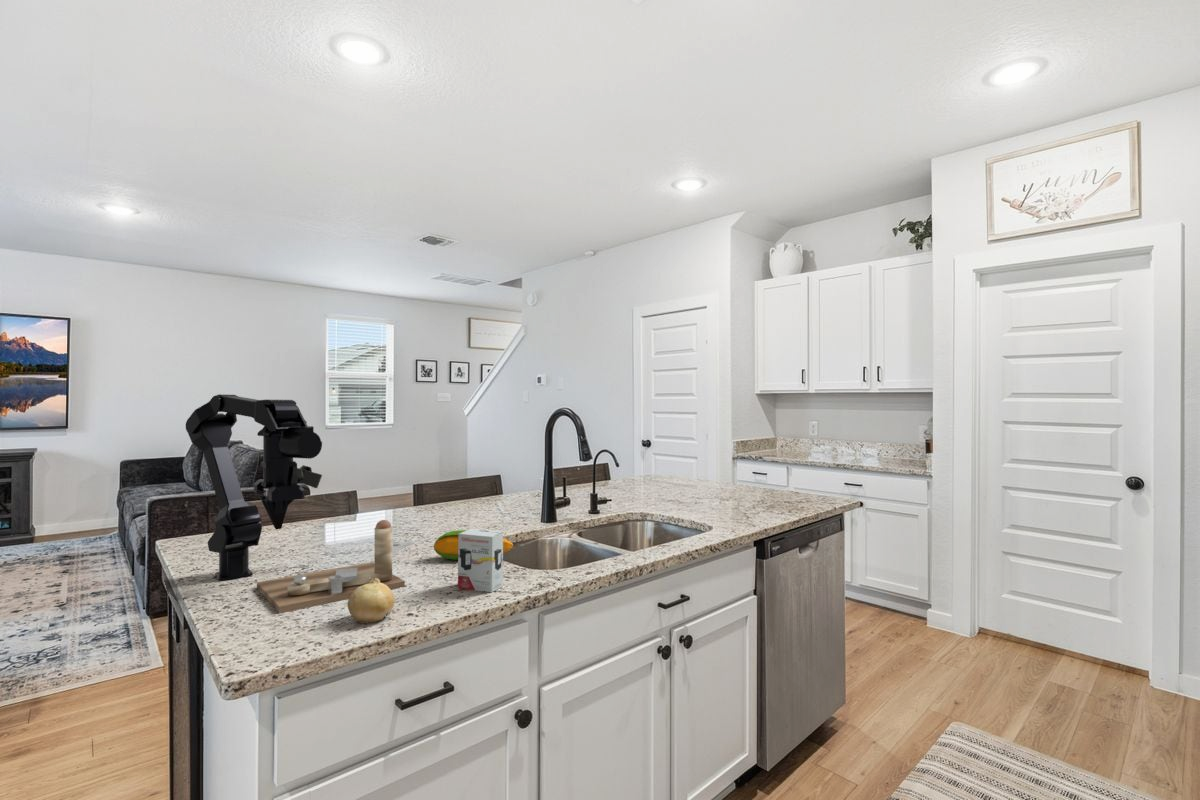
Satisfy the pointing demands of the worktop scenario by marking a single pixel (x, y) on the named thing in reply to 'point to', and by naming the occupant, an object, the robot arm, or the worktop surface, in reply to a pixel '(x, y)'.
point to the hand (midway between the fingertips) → (278, 528)
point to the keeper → (335, 579)
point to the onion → (371, 602)
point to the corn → (456, 545)
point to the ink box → (480, 560)
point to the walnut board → (283, 602)
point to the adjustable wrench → (399, 546)
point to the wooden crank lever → (380, 571)
